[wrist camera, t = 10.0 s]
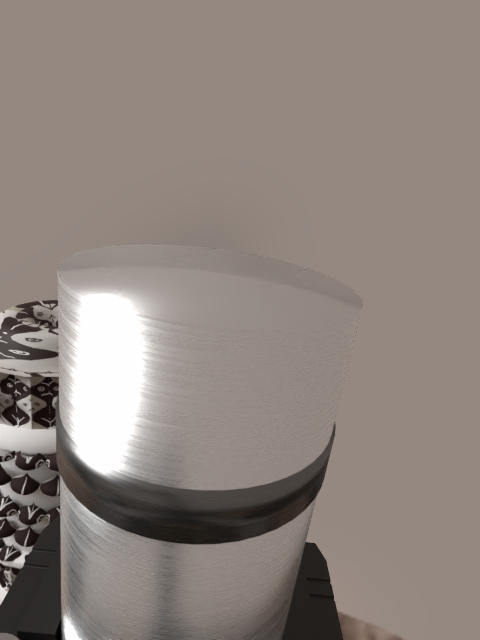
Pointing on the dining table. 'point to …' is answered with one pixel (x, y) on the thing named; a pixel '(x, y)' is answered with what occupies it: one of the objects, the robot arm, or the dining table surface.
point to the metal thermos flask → (192, 436)
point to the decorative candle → (27, 431)
